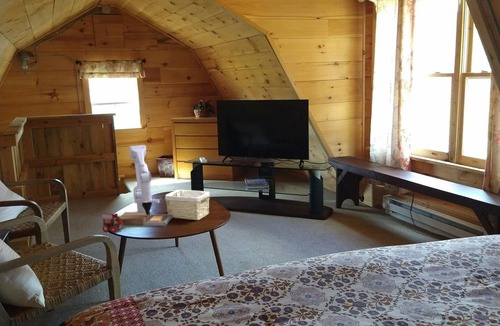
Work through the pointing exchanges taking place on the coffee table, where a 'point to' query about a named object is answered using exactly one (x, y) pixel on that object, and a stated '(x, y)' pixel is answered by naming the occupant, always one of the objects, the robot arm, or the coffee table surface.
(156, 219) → the tan rectangular block
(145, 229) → the coffee table surface
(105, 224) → the toy fire truck
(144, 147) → the robot arm
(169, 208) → the storage basket
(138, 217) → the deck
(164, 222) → the tray
